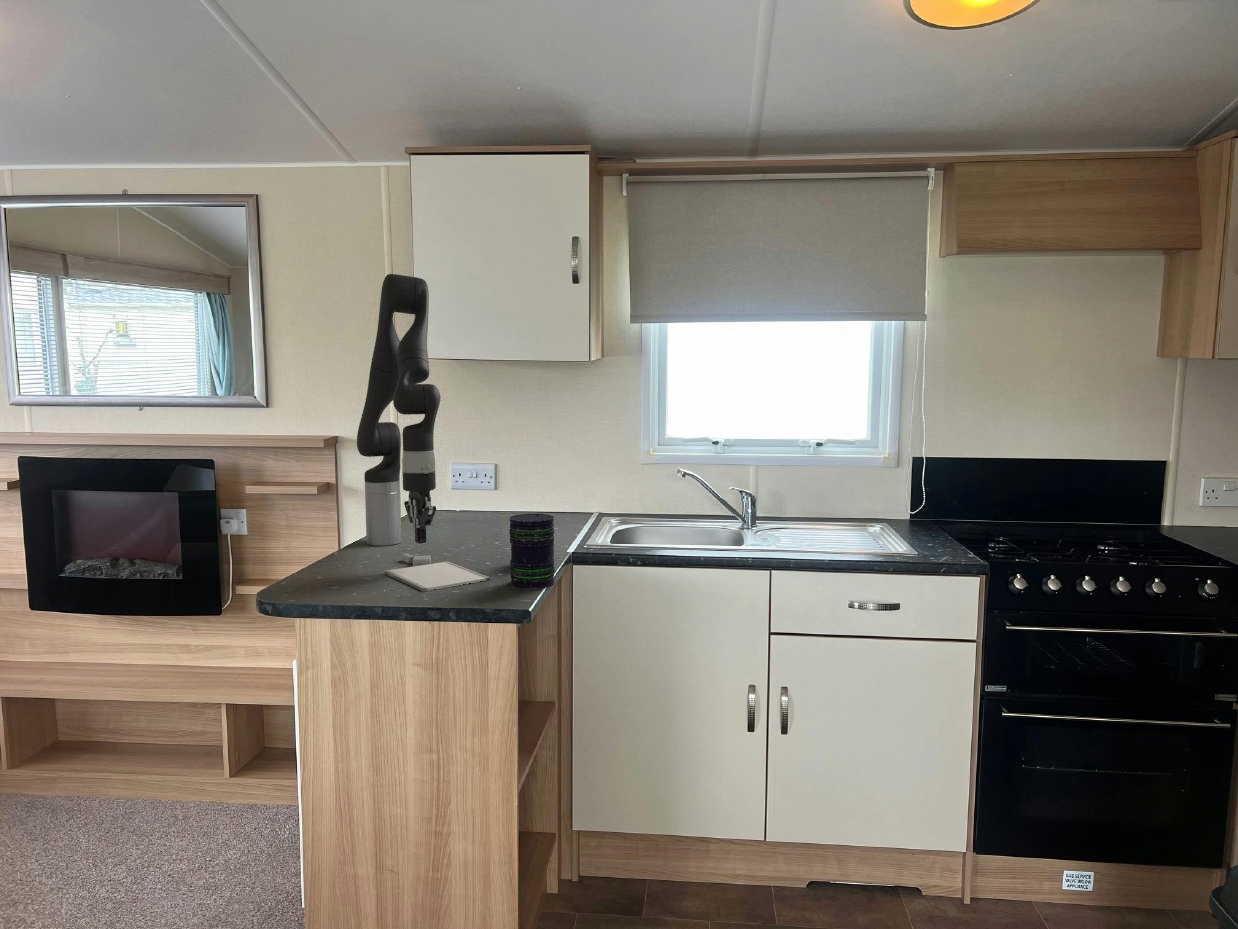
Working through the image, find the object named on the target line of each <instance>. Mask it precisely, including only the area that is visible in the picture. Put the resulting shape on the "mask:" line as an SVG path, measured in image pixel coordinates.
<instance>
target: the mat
mask: <svg viewBox="0 0 1238 929" xmlns="http://www.w3.org/2000/svg"><path fill="white" fill-rule="evenodd" d="M384 574H385V575H387V576H390V577H391V578H393V579H396V580H398V581H400V582H402V583H404V584H406V585H409V586H411V587H413V588H415V589H417V590H419V591H420V592H429V591H435V590H434V589H436V590H440V589H446V588H452V587H453V586H454V587H458V586H459V585H460V586H464V585H463V584H465V585H470V584H469V583H471V584H476V583H481V582H480V581H483V582H487V581H488V580H489V581H490V576H487V575H484V574H481V573H479V572H477V571H474V570H472V569H468V568H466V567H463V566H460V565H459V564H455V563H453V562H451V561H447V560H445V561H442V562H436V563H431V564H428V565H421V566H414V567H413V566H409V567H401V568H394V569H385V570H384Z"/></svg>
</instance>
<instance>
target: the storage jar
mask: <svg viewBox="0 0 1238 929" xmlns="http://www.w3.org/2000/svg"><path fill="white" fill-rule="evenodd" d="M554 518H555V517H554V515H552V514H551V515H550V514H547V513H544V514H543V513H523V514H516V515H514V514H513V515H511V516H510V517H509V533H508V534H509V543H510V551H511V555H510V561H509V562H510V563H509V564H510V566H509V574H510V580H511V581H510V586H511V588H515V589H520V590H541V589H548V588H550V587H553V586H554V585H555V580H554V577H555V574H554V573H555V572H556V571H555V558H554V559H553V542H554V543H555V535H554V534H555V528H554V527H555V523H554Z"/></svg>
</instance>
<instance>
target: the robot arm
mask: <svg viewBox="0 0 1238 929" xmlns="http://www.w3.org/2000/svg"><path fill="white" fill-rule="evenodd" d="M380 292H381V293H380V300H379V311H378V322H377V331H376V337H375V342H374V347H373V352H372V358H371V364H370V369H369V377H368V384H367V391H366V396H365V402H364V406H363V410H362V413H361V418H360V420H359V424H358V428H357V434H356V447H357V451H358V453H359V454H360V456H363V457H366V458H367V457H368V458H371V457H372V458H373V457H374V458H375V457H383V458H382V460H381V461H380V462H379V463H378V464H377V465H375V466H373V467H371V468H368V469H367V470H366V471H365V472H364V499H365V500H364V502H365V528H366V529H365V536H366V537H365V538H366V540H365V541H366V544H367V545H370V546H380V547H383V546H391V545H397V544H400V543H402V530H401V529H402V525H401V522H402V521H401V519H402V518H401V517H402V516H401V486H400V473H401V472H402V474H401V476H402V490H403V491H406V492H408V500H406V501H404V503H403V504H404V508H405V511H406V514H407V516H408V521H409V523H410V524H412V526H413V527H414V542H415V543H416V544H426V542H427V528H428V527H429V526H431V525H432V523H433V519H434V517H435V514H436V511H437V507H436V505H432V497H431V491H434V490H435V489H436V487H437V483H436V458H435V456H436V455H435V450H434V446H435V445H434V431H435V424H436V423H435V422H436V419H437V414H438V411H439V407H440V403H441V392H440V390H439V389H438V387H437V386H436V385H434V384H431V383H423V382H425V381H426V380H428V378H429V377H430V364H429V354H428V353H429V352H428V330H429V312H430V311H429V308H430V306H429V305H430V293H429V292H430V291H429V286H428V283H427V281H426V280H425V279H424V278H420V277H415V276H410V275H409V276H408V275H402V274H396V273H388V274H386V275H385V277H384V279H383V282H382V286H381V291H380ZM394 313H399V314H400V313H401V314H406V315H407V314H408V315H414V319H413V323H412V324H411V326H410V327H409V329H408V330H407V331H406V333H405V334H404V335H403V336H402V338H401V339H400V337H399V335H398V333H397V330H396V328H395V325H394V315H395V314H394ZM422 383H423V384H422ZM392 402H393V403H392ZM391 403H392V404H393V407H394V409H395V411H396V412H397V413H399V414H400V415H410V416H411V415H424V418H423V419H421V421H420V422H418V423H414V424H409V425H406V426H404V427H403V429H402V433H401V430H400V427H399V425H398V424H397V423H396V422H392V421H388V422H387V421H385V422H379V421H380V419H381V417H382V415H383V413H384V411H385V410H386V409H387V407H388V406H389V405H390V404H391ZM401 434H402V435H401ZM401 447H402V448H401ZM401 449H402V450H401ZM401 451H402V454H401ZM401 455H402V457H401ZM401 458H402V459H401ZM401 465H402V467H401ZM401 468H402V469H401Z"/></svg>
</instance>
